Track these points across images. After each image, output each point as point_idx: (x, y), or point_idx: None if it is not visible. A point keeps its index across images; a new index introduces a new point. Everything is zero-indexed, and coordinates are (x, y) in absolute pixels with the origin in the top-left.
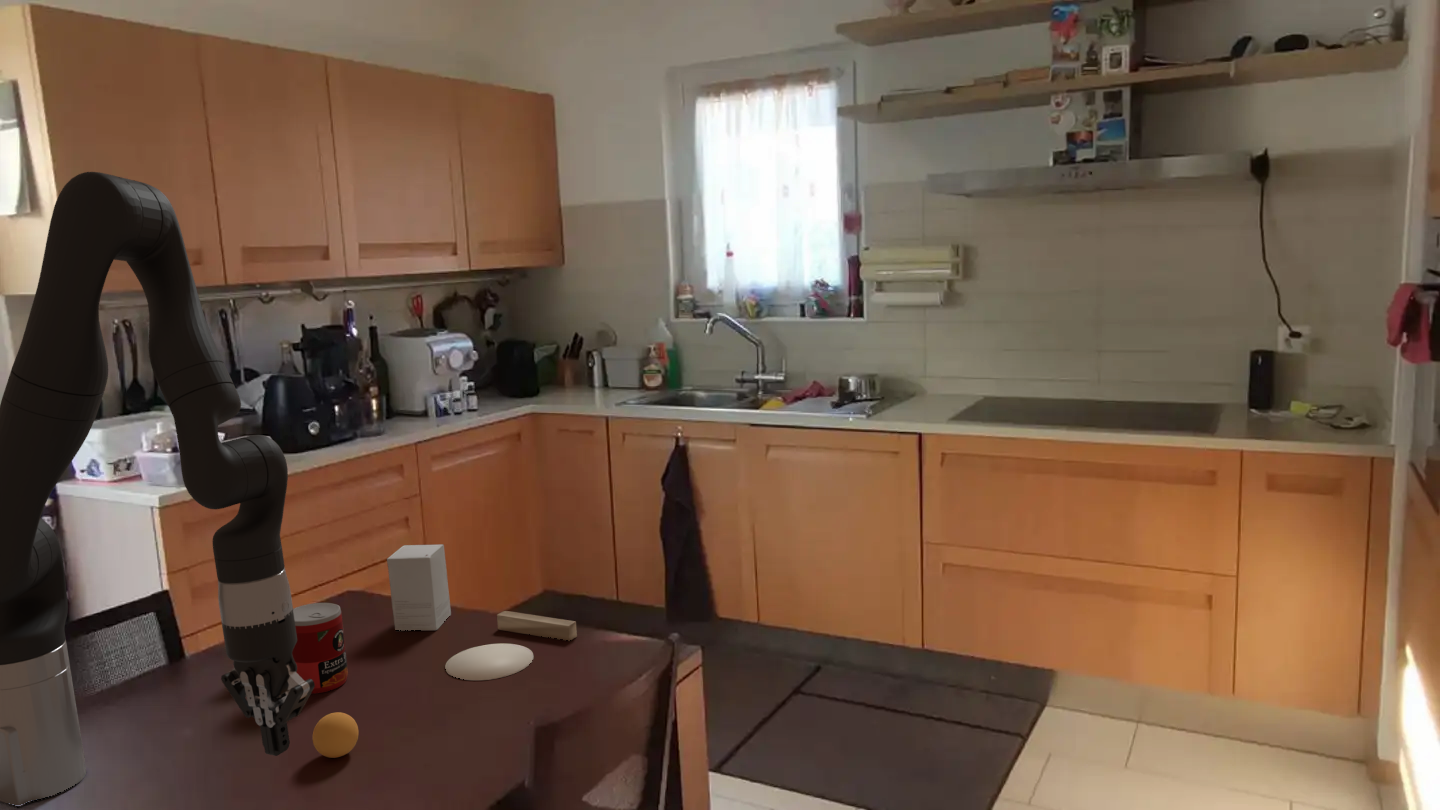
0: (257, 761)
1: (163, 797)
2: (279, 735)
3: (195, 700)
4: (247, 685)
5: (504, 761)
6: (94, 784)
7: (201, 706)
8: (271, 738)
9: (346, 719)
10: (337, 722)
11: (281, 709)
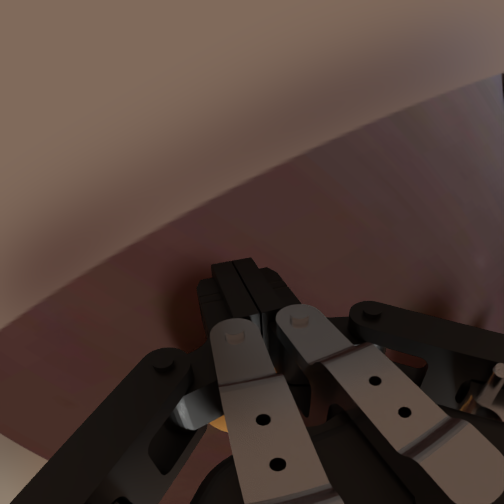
0: (351, 272)
1: (406, 111)
2: (204, 317)
3: (497, 302)
4: (429, 433)
5: (12, 433)
6: (494, 113)
7: (489, 300)
8: (225, 293)
9: (220, 427)
10: (222, 416)
11: (143, 415)
